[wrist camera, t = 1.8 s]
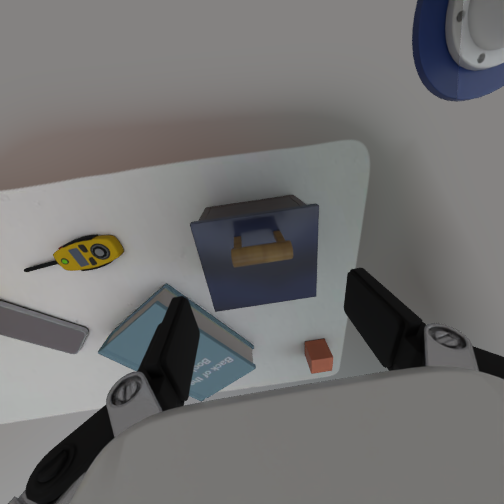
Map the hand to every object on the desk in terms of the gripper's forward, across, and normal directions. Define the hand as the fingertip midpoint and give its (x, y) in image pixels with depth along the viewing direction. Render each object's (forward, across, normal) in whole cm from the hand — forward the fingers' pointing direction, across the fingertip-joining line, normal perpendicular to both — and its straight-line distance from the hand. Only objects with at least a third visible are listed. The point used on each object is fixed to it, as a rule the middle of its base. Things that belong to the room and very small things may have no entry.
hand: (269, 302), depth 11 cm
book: (+20, +16, +24) cm, 35 cm away
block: (+19, -10, +32) cm, 39 cm away
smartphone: (+20, +40, +15) cm, 47 cm away
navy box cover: (+10, 0, +3) cm, 11 cm away
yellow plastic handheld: (+20, +27, +2) cm, 33 cm away
